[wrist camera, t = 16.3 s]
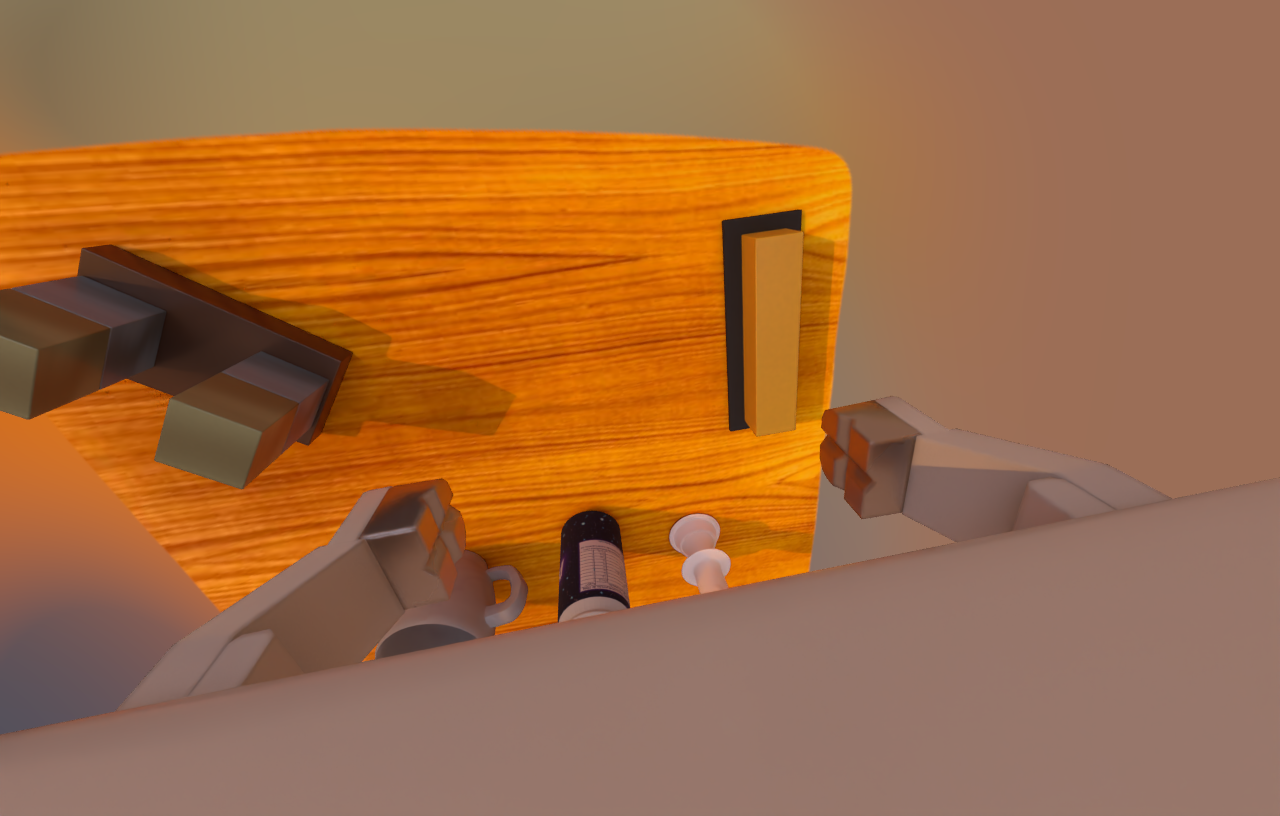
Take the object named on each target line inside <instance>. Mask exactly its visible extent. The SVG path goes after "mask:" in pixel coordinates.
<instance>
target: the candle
mask: <svg viewBox="0 0 1280 816" xmlns="http://www.w3.org/2000/svg"><path fill="white" fill-rule="evenodd" d="M719 535H720V527H719V524H718V522H717V521H716V520H715V519H714V518H713V517H711V516H709V515H706V514H691V515H688V516H685V517H683V518H682V519H680V520H679V521H677V522H676V523H675V524H674V526H673V527H672V529H671V531H670V535H669V540H670V543H671V545H672V547H673V548H674V549H675V550H676V551H678V552H680V553H682V554H683V555H685V556H686V557H688V558H687V559H686V561H685V562H684V564H683V566H682V576H683V578H684V579H685V580H686V581H687V582H688V583H690V584H692V585H695V586H698V588H699V592H700V594H703V593H708V592H713V591H718V590H723V589H728V585H727V583H726V580H725V578H724V577H725V576H726V575H727V573H728V572H729V569H730V565H731V563H730V559H729V557H728V555H727V554H726V553H724V552H723V551H721V550H718V549H714V548H715V545H716V541H717V540H718V538H719Z"/></svg>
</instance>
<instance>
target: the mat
mask: <svg viewBox="0 0 1280 816" xmlns="http://www.w3.org/2000/svg"><path fill="white" fill-rule="evenodd" d="M801 213H802V210H794V211H787V212H780V213H772V214H765V215H758V216H751V217H744V218H737V219H730V220H723V221H722V232H723V261H724V289H725V318H726V347H727V376H728V405H729V430H730V431H735V430H741V429H747V428H750V427H749V426H748V424H747V423H746V422H745V408H744V350H743V292H742V235H743V234H750V233H757V232H764V231H771V230H778V229H784V228H786V229H792V230H797V231H801Z"/></svg>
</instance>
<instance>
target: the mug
mask: <svg viewBox="0 0 1280 816" xmlns="http://www.w3.org/2000/svg"><path fill="white" fill-rule="evenodd" d="M454 565H455V568H456V570H457V573H458V574H457V577H456V580H455V583H454V587H453V590H452V593H451V596H450V600H446V601H442V602H437V603H433V604H429V605H424V606H420V607H415V608H411V609H406V610H404V611H405V613H404V614H403V615H402V616H401V617H400V618H399V620H398V621H397V622H396V623H395V624H394V625H393V626H392V627H391V629H390V630H389V631H388V632H387V633H386V634H385V635H384V637H383V638H382V639H381V640H380V641H379V642H378V645H377V648H376V652H375V659H380V658H385V657H390V656H395V655H400V654H405V653H410V652H415V651H420V650H425V649H430V648H434V647H439V646H444V645H449V644H454V643H459V642H464V641H469V640H474V639H479V638H484V637H489V636H494V635H495V627H497V626H500V625H503V624H507V623H510V622H512V621H514V620H515V619H516V618H517V617H518V616H519V615H520V613H521V612H522V610H523V608H524V606H525V603H526V598H527V593H528V587H527V584H526V582H525V580H524V579H523V577H522V575H521V574H520V572H519V571H518V570H517V569H516V568H515V567H513V566H511V565H504V566H497V567H493V568H490V569H488V566H487V564H486V562H485V560H484V559H483V558H482V557H481V556H479V555H478V554H476V553H474V552H471V551H467V550H464V553H463V556H462V557H461V558H460V559H459V560H458V561H457V562H456V563H455V564H454ZM499 579H506V580H509V581H510V584H511V595H510V597H509V598H508V599H507V600H506V601H505V602H502V603H499V604H496V601H495V593H494V588H493V581H495V580H499Z"/></svg>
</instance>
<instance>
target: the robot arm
mask: <svg viewBox="0 0 1280 816" xmlns="http://www.w3.org/2000/svg"><path fill="white" fill-rule="evenodd" d="M821 428H822V429H823V430H824V432H825V433H826V434H827V436H826V438H825V439H824V440H823V442H822V443H821V444H820V461H821V465H822V470H823V472H824V474H825V476H826V477H827V479H828V480H829V482H830V483H831V484H832V485H833V486H835V487H838V488H840V489H842V490H845V493H844V499H845V500H846V502H847V503H848V504H849V505H850V506H851V507H852V508H853V510H854V511H855V512H856V513H857V514H858V515H859V516H860V518H861V519H866V518H872V517H878V516H884V515H890V514H896V513H902V512H903V513H902V514H903V515H905V516H907V517H909V518H910V519H912V520H914V521H916V522H918V523H920V524H922V525H924V526H926V527H928V528H930V529H932V530H934V531H936V532H938V533H940V534H942V535H944V536H945V537H948V538H950V539H951V540H953V541H955V542H957V543H952V544H947V545H942V546H937V547H932V548H927V549H922V550H917V551H912V552H907V553H902V554H897V555H892V556H887V557H882V558H877V559H872V560H867V561H862V562H857V563H852V564H847V565H843V566H837V567H832V568H827V569H822V570H817V571H812V572H807V573H802V574H797V575H792V576H787V577H782V578H777V579H772V580H767V581H762V582H757V583H752V584H747V585H742V586H738V587H733V588H728V589H723V590H718V591H713V592H708V593H703V594H698V595H693V596H688V597H683V598H678V599H674V600H669V601H664V602H659V603H654V604H649V605H644V606H639V607H634V608H629V609H624V610H619V611H614V612H609V613H604V614H599V615H594V616H589V617H584V618H579V619H574V620H569V621H564V622H559V623H554V624H549V625H544V626H539V627H534V628H529V629H524V630H519V631H514V632H509V633H504V634H499V635H494V636H489V637H484V638H479V639H474V640H469V641H464V642H459V643H454V644H449V645H444V646H439V647H434V648H430V649H425V650H420V651H415V652H410V653H405V654H400V655H395V656H390V657H385V658H380V659H375V660H370V661H365V662H362V661H363V659H364V658H365V657H366V656H367V655H368V654H369V653H370V651H371V650H372V649H373V648H374V647H375V646H376V645H377V643H378V642H379V641H380V640H381V639H382V638H383V637H384V635H385V634H386V633H387V632H388V631H389V630H390V629H391V627H392V626H393V625H394V624H395V623H396V622H397V621H398V620H399V618H400V617H401V616H402V615H403V614H404V613H405V611H404V610H406V609H411V608H415V607H420V606H424V605H429V604H433V603H437V602H442V601H446V600H450V596H451V593H452V590H453V587H454V583H455V580H456V577H457V574H458V573H457V570H456V568H455V565H454V564H455V563H456V562H457V561H458V560H459V559H460V558H461V557H462V556H463V553H464V550H465V546H466V530H465V525H464V521H463V518H462V515H461V513H460V511H458V510H457V509H455V508H454V507H452V506H451V505H450V502H451V499H452V497H453V493H452V491H451V489H450V486H449V484H448V482H447V481H445V480H444V479H442V478H441V479H435V480H429V481H423V482H416V483H410V484H404V485H398V486H394V487H392V486H390V487H385V488H380V489H375V490H370V491H367V492H365V493H363V494H362V496H361V497H360V499H359V500H358V502H357V503H356V505H355V506H354V507H353V509H352V510H351V512H350V513H349V515H348V516H347V518H346V519H345V520H344V522H343V523H342V525H341V526H340V528H339V529H338V531H337V532H336V534H335V535H334V536H333V538H332V539H331V541H330V542H329V544H328V545H327V546H321V547H318V548H317V549H315V550H314V551H312V552H311V553H309V554H308V555H306V556H305V557H303V558H302V559H300V560H299V561H297V562H296V563H294V564H293V565H291V566H290V567H288V568H287V569H285V570H284V571H282V572H281V573H279V574H278V575H276V576H275V577H274V578H272V579H271V580H269V581H268V582H266V583H265V584H263V585H262V586H260V587H259V588H257V589H256V590H254V591H253V592H251V593H250V594H248V595H247V596H245V597H244V598H242V599H241V600H239V601H238V602H236V603H235V604H233V605H232V606H230V607H229V608H228V609H226V610H225V611H223V612H222V613H220V614H219V615H217V616H216V617H214V618H213V619H211V620H210V621H208V622H207V623H205V624H204V625H202V626H201V627H199V628H198V629H196V630H195V631H193V632H192V633H190V634H189V635H188V636H186V637H184V638H183V639H182V640H180V641H179V642H177V643H176V644H174V645H173V646H172V647H171V648H170V649H169V650H168V651H167V652H166V653H165V655H164V656H163V657H162V658H161V659H160V660H159V662H158V663H157V664H156V665H155V666H154V667H153V668H152V670H151V671H150V672H149V673H148V674H147V675H146V676H145V678H144V679H143V680H142V681H141V682H140V683H139V684H138V686H137V687H136V688H135V689H134V690H133V691H132V692H131V694H130V695H129V696H128V697H127V698H126V699H125V700H124V702H123V703H122V704H121V705H120V706H119V707H118V708H117V710H116V711H115V712H111V713H106V714H101V715H96V716H91V717H86V718H81V719H76V720H72V721H66V722H62V723H56V724H51V725H46V726H41V727H37V728H31V729H27V730H21V731H16V732H11V733H6V734H1V735H0V816H1280V477H1279V478H1274V479H1269V480H1264V481H1260V482H1254V483H1249V484H1244V485H1239V486H1234V487H1230V488H1225V489H1220V490H1215V491H1210V492H1205V493H1200V494H1195V495H1190V496H1185V497H1180V498H1175V499H1172V498H1170V497H1168V496H1166V495H1164V494H1163V493H1161V492H1159V491H1157V490H1155V489H1153V488H1151V487H1150V486H1148V485H1146V484H1144V483H1142V482H1140V481H1138V480H1136V479H1134V478H1133V477H1131V476H1129V475H1127V474H1125V473H1123V472H1121V471H1119V470H1117V469H1115V468H1114V467H1112V466H1110V465H1108V464H1104V463H1099V462H1095V461H1091V460H1087V459H1082V458H1078V457H1074V456H1069V455H1065V454H1061V453H1057V452H1053V451H1049V450H1045V449H1040V448H1036V447H1032V446H1028V445H1023V444H1019V443H1015V442H1011V441H1007V440H1002V439H998V438H993V437H989V436H985V435H981V434H977V433H973V432H969V431H964V430H960V429H951V430H948V429H947V428H945V427H944V426H942V425H941V424H939V423H938V422H936V421H935V420H933V419H932V418H930V417H928V416H927V415H925V414H924V413H922V412H921V411H919V410H918V409H916V408H915V407H913V406H912V405H910V404H909V403H907V402H906V401H904V400H902V399H901V398H899V397H895V396H890V397H885V398H881V399H876V400H871V401H867V402H862V403H858V404H853V405H848V406H843V407H838V408H833V409H829V410H825V411H824V414H823V416H822V425H821Z"/></svg>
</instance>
